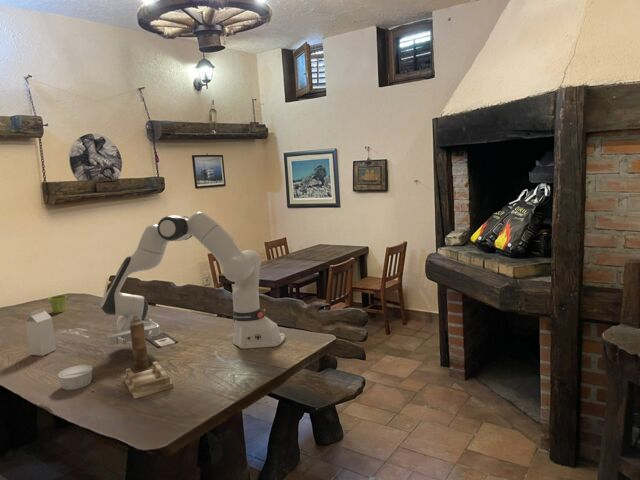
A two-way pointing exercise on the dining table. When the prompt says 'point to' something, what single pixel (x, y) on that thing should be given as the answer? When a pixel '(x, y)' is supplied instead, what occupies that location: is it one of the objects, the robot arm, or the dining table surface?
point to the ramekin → (75, 377)
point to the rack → (147, 381)
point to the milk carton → (40, 333)
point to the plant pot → (58, 303)
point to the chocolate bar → (161, 340)
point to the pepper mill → (138, 343)
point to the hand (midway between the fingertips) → (136, 339)
